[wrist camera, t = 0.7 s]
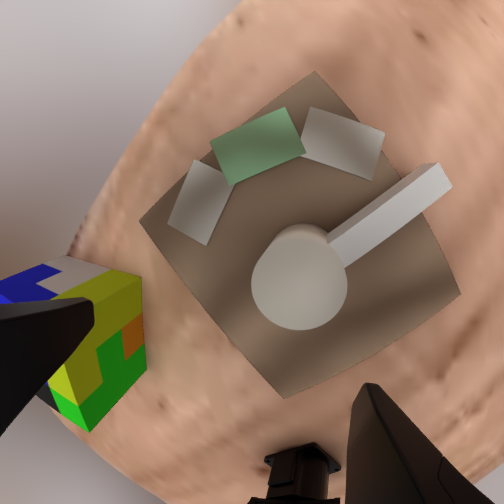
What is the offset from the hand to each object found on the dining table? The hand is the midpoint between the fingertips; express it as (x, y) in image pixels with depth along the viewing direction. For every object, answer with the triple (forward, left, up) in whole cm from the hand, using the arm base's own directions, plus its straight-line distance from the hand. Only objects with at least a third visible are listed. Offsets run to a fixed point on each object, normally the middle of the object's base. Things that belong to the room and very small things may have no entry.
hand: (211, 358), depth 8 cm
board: (-1, -2, -12) cm, 12 cm away
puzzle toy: (+5, +17, -12) cm, 22 cm away
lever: (-1, -5, -11) cm, 12 cm away
